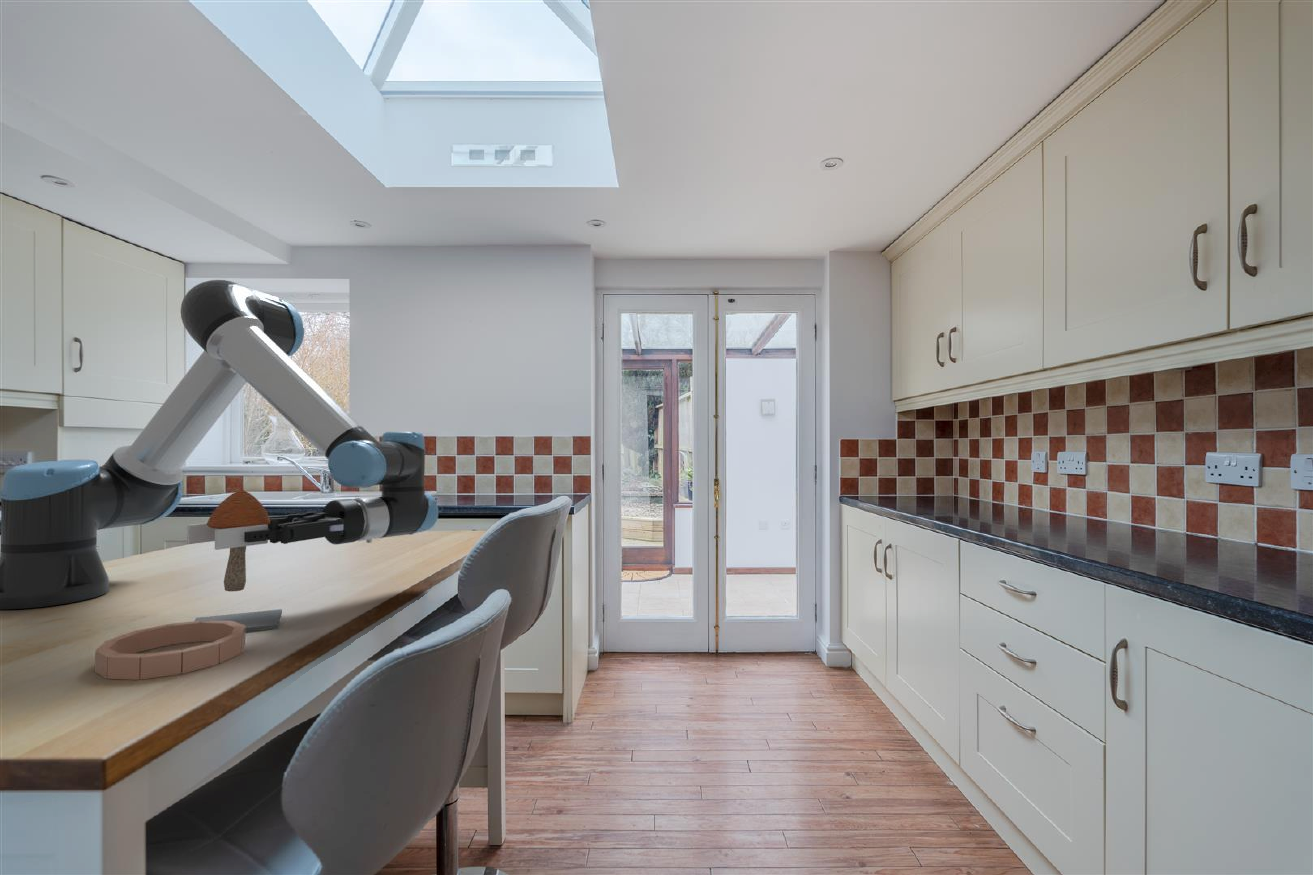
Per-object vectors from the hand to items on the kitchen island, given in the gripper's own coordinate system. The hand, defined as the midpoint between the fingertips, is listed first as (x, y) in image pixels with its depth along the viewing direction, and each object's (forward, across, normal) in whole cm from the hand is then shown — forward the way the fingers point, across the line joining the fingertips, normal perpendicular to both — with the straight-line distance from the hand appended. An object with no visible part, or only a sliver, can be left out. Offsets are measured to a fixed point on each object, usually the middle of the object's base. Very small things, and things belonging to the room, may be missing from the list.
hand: (202, 537), depth 86 cm
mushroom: (-5, 0, -9) cm, 10 cm away
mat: (-5, 0, -14) cm, 14 cm away
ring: (+6, -8, -14) cm, 17 cm away
